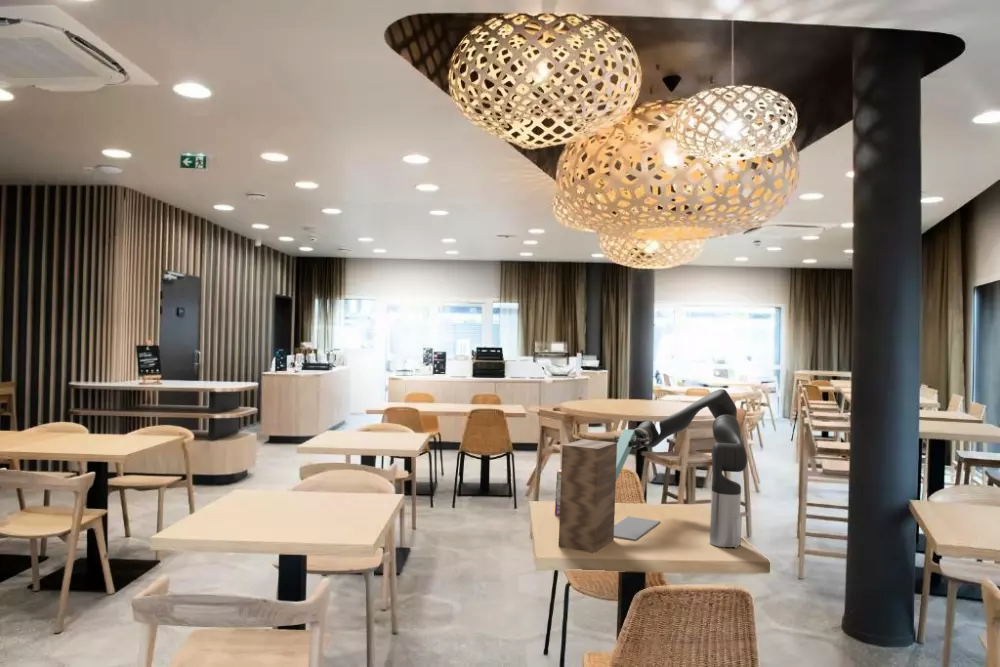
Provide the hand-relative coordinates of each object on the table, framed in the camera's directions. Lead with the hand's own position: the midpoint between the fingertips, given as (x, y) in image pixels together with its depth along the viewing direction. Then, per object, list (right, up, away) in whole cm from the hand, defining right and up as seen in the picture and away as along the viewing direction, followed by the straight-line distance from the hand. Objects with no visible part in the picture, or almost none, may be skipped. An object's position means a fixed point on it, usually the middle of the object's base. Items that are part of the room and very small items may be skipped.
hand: (623, 443), depth 263 cm
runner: (+2, -29, -8) cm, 30 cm away
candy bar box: (-19, -28, +9) cm, 35 cm away
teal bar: (-2, -6, -3) cm, 7 cm away
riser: (-17, -28, -29) cm, 44 cm away
